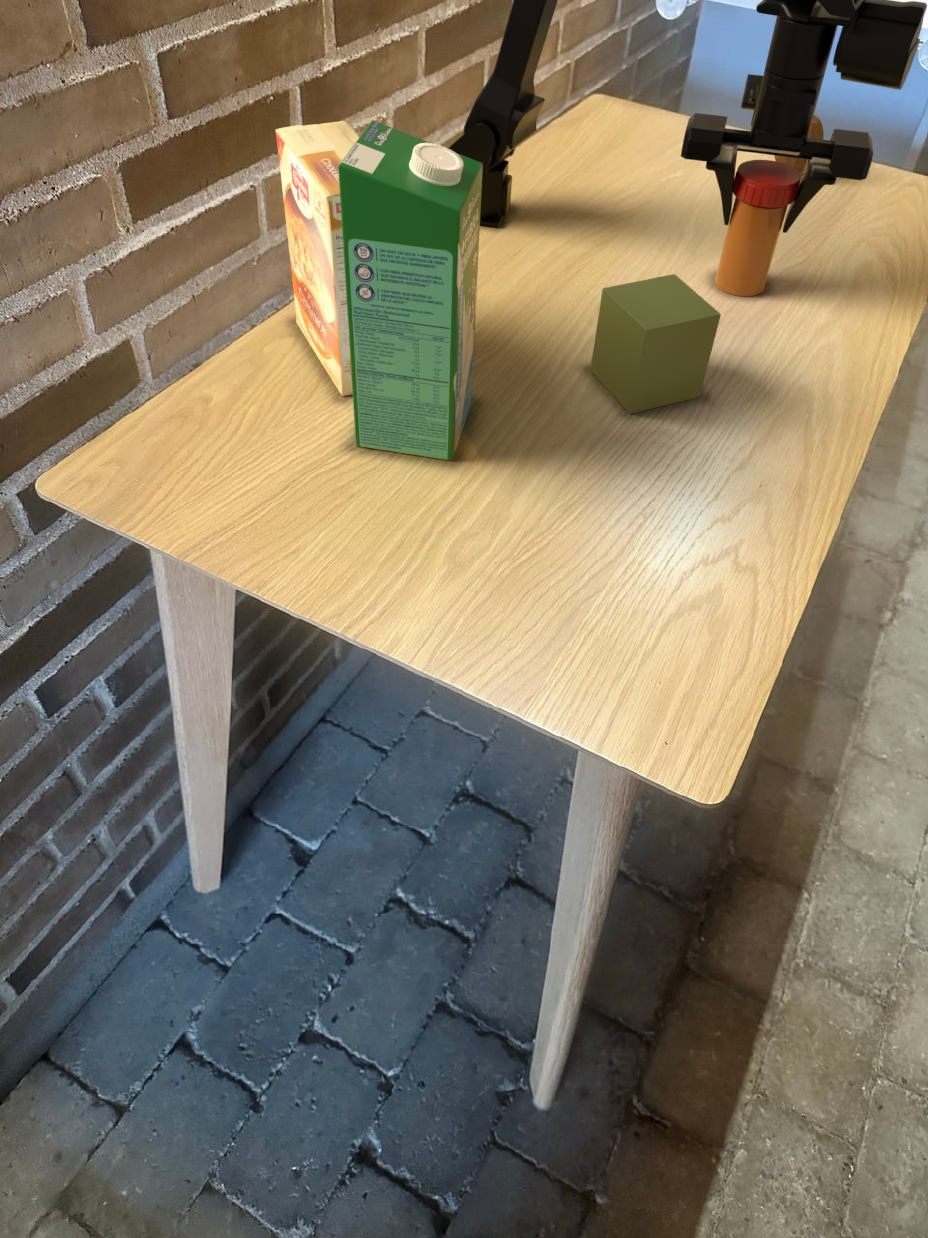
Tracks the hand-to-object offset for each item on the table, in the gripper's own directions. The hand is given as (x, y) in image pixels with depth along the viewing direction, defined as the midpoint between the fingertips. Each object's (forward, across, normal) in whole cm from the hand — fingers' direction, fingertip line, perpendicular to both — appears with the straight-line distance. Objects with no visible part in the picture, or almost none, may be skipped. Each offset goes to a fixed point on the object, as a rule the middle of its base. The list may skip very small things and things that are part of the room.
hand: (755, 227), depth 103 cm
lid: (-6, 0, 0) cm, 6 cm away
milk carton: (+7, +28, +37) cm, 47 cm away
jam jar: (+7, 0, 0) cm, 7 cm away
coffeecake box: (+6, +38, +27) cm, 47 cm away
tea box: (+7, +8, +24) cm, 26 cm away
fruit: (+7, -5, -34) cm, 35 cm away
